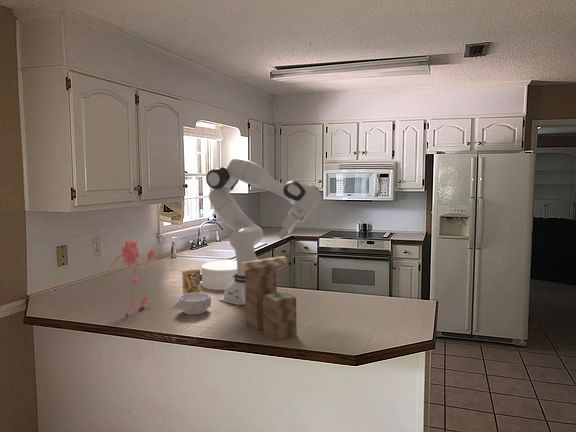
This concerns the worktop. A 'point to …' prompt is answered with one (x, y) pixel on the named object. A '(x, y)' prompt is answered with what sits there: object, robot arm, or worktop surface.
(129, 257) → the pink flowering sprig
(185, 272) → the candy box
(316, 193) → the robot arm
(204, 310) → the paper bowls
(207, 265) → the plate stack
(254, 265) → the beech bar
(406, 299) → the worktop surface
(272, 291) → the tall stand
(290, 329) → the low stand
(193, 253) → the worktop surface
